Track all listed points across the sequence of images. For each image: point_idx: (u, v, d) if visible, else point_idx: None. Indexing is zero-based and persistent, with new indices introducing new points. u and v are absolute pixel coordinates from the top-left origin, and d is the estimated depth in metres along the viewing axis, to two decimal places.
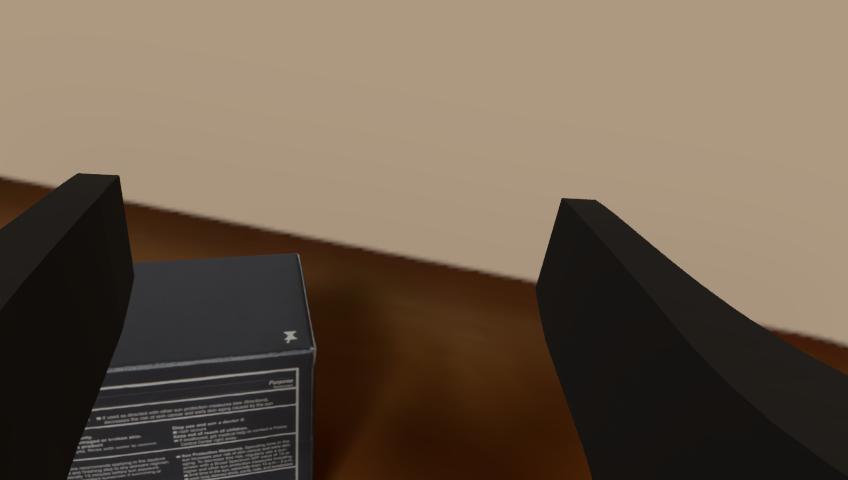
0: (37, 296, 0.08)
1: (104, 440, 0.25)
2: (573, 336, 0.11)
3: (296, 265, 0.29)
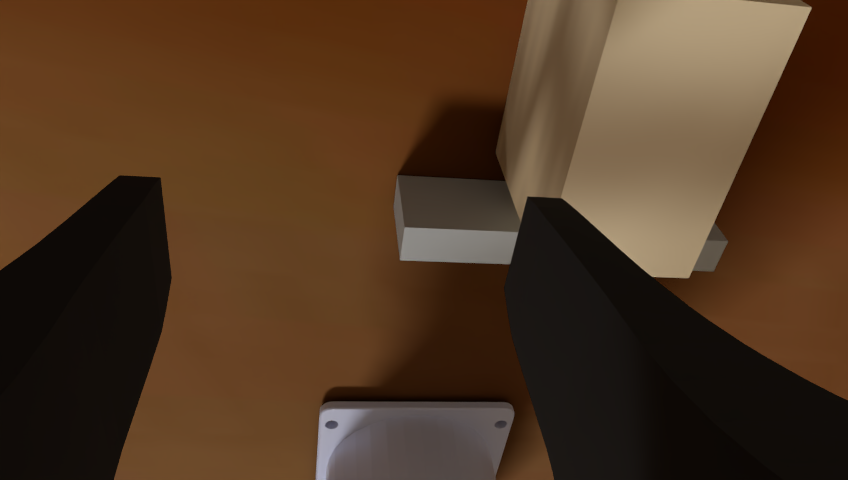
0: (92, 297, 0.08)
1: None
2: (537, 335, 0.11)
3: None
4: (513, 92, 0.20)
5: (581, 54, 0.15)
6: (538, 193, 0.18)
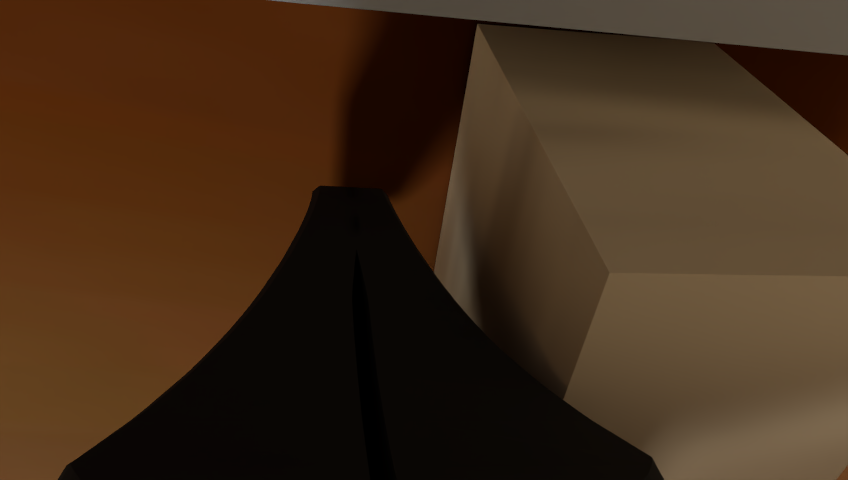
0: None
1: None
2: None
3: None
4: (441, 282, 0.13)
5: (533, 331, 0.08)
6: None
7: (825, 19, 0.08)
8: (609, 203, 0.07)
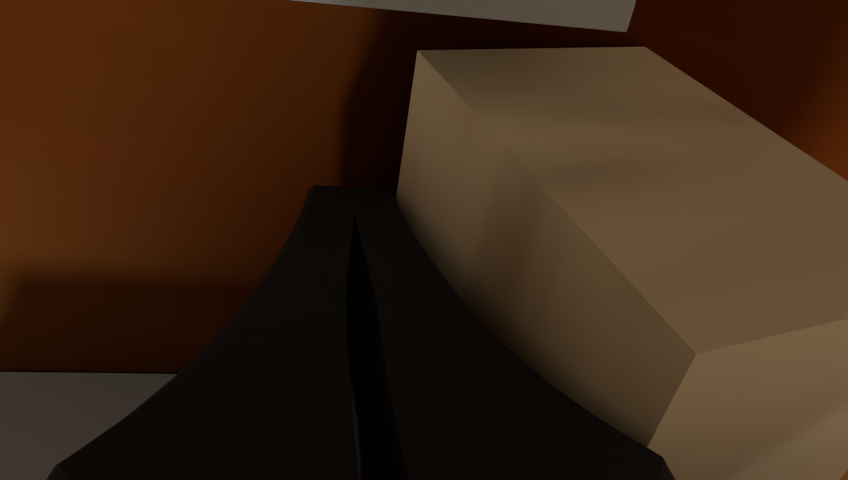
0: None
1: None
2: (351, 332, 0.11)
3: None
4: None
5: None
6: None
7: None
8: (651, 263, 0.06)
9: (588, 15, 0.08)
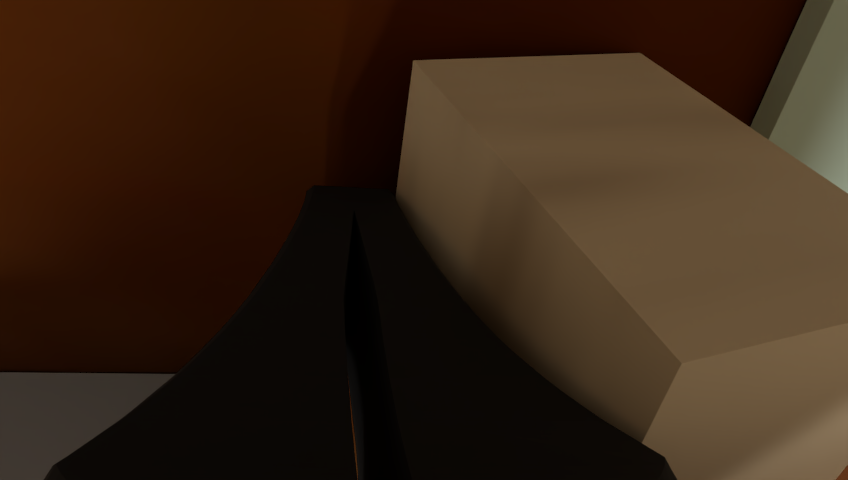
0: None
1: None
2: (352, 332, 0.11)
3: None
4: None
5: None
6: None
7: None
8: (641, 273, 0.07)
9: None
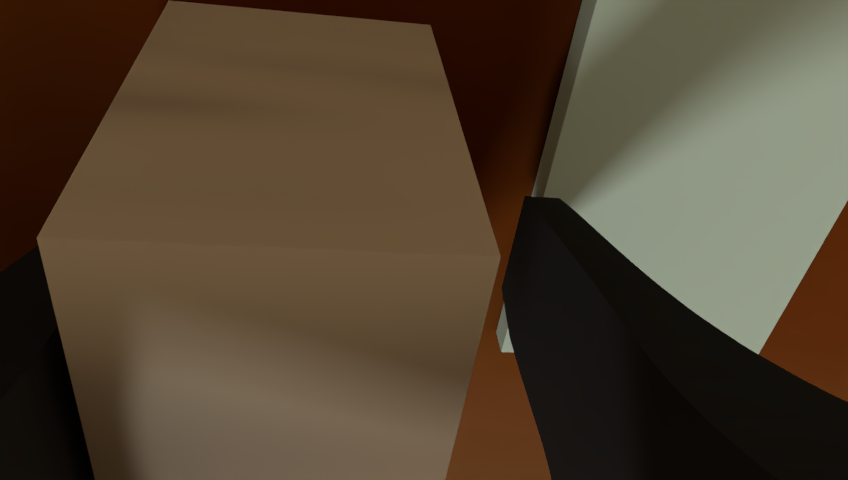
0: None
1: None
2: (534, 335, 0.11)
3: None
4: None
5: None
6: None
7: None
8: (117, 172, 0.07)
9: None
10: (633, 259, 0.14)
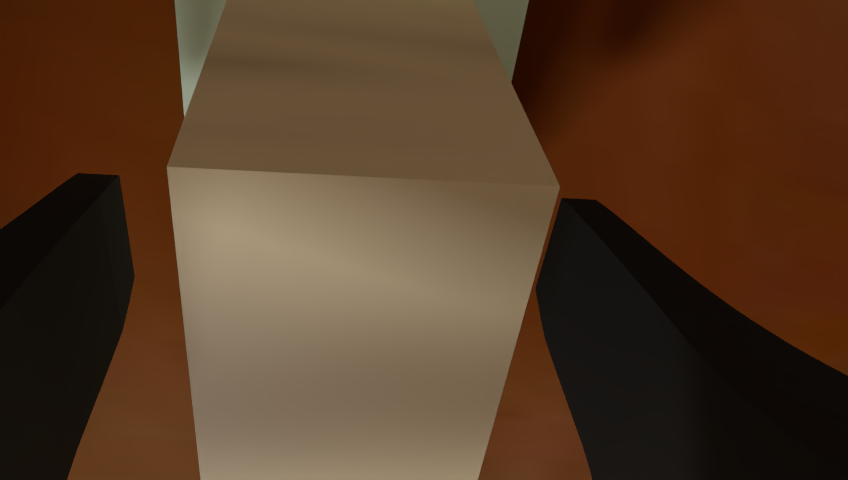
0: (37, 296, 0.08)
1: None
2: (573, 336, 0.11)
3: None
4: None
5: None
6: None
7: None
8: (221, 117, 0.08)
9: None
10: None
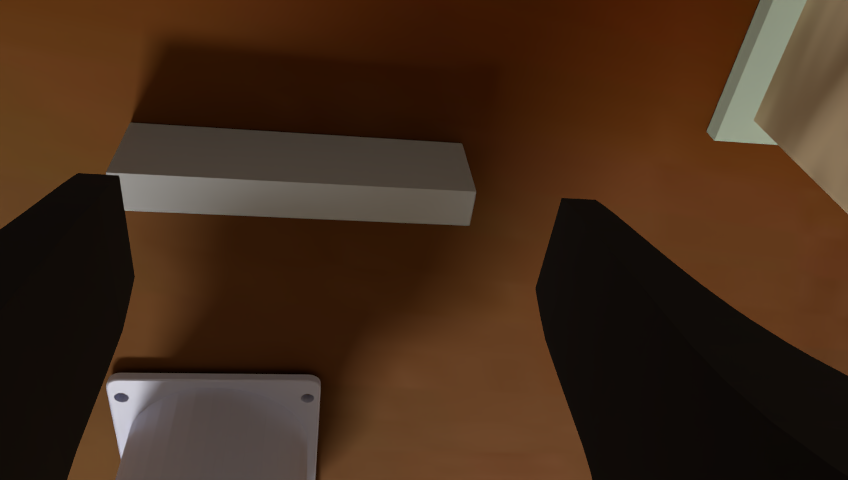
0: (37, 296, 0.08)
1: None
2: (573, 336, 0.11)
3: None
4: (796, 58, 0.20)
5: None
6: None
7: None
8: None
9: None
10: None
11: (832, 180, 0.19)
